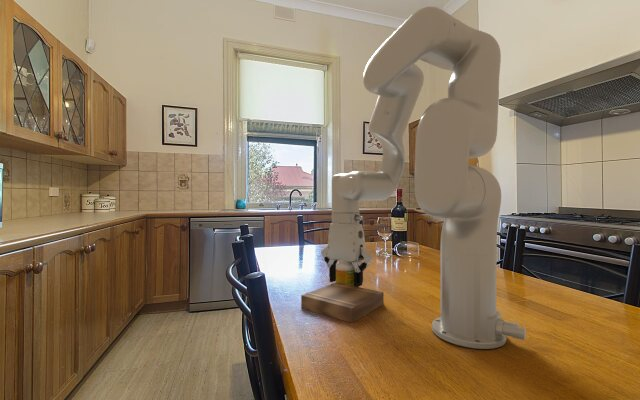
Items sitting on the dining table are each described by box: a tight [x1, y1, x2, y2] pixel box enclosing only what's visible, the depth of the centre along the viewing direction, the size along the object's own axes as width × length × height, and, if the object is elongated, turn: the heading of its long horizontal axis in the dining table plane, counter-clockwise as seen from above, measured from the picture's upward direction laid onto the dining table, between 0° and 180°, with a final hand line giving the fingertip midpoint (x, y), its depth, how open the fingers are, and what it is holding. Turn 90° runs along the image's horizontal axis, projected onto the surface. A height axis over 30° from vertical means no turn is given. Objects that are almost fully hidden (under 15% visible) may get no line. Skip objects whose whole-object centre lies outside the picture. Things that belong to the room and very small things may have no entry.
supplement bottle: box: [335, 260, 356, 286], centre depth 86 cm, size 5×5×10 cm
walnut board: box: [300, 282, 385, 323], centre depth 74 cm, size 14×14×3 cm
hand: (345, 283), depth 86 cm, fingers open, 7 cm apart
